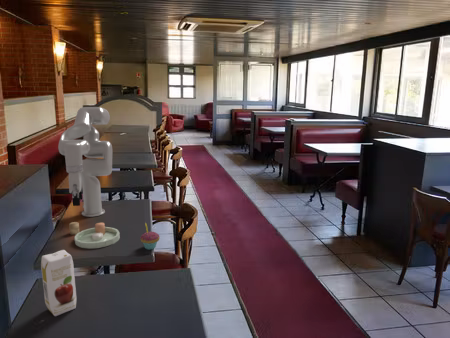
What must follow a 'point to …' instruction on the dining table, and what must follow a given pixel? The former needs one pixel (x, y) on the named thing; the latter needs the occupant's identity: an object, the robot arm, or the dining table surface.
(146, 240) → the cupcake
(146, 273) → the dining table surface
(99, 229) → the terracotta bead
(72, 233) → the maple bead
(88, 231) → the groove tray
